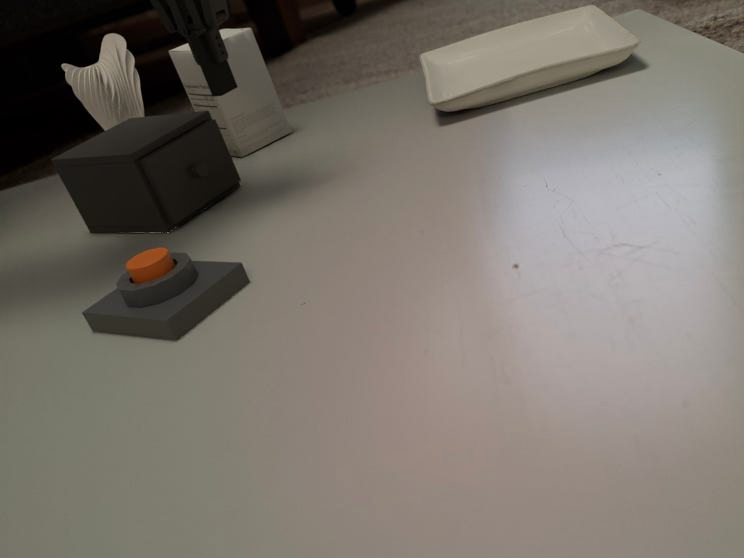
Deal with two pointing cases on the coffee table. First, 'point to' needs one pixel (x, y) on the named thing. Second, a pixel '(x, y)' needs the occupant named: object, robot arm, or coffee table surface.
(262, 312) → the coffee table surface
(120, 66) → the shell sculpture
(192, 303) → the control block
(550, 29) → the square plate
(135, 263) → the button
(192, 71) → the rectangular carton
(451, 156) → the coffee table surface
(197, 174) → the pull-out drawer with knob
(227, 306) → the coffee table surface
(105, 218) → the grey drawer box
